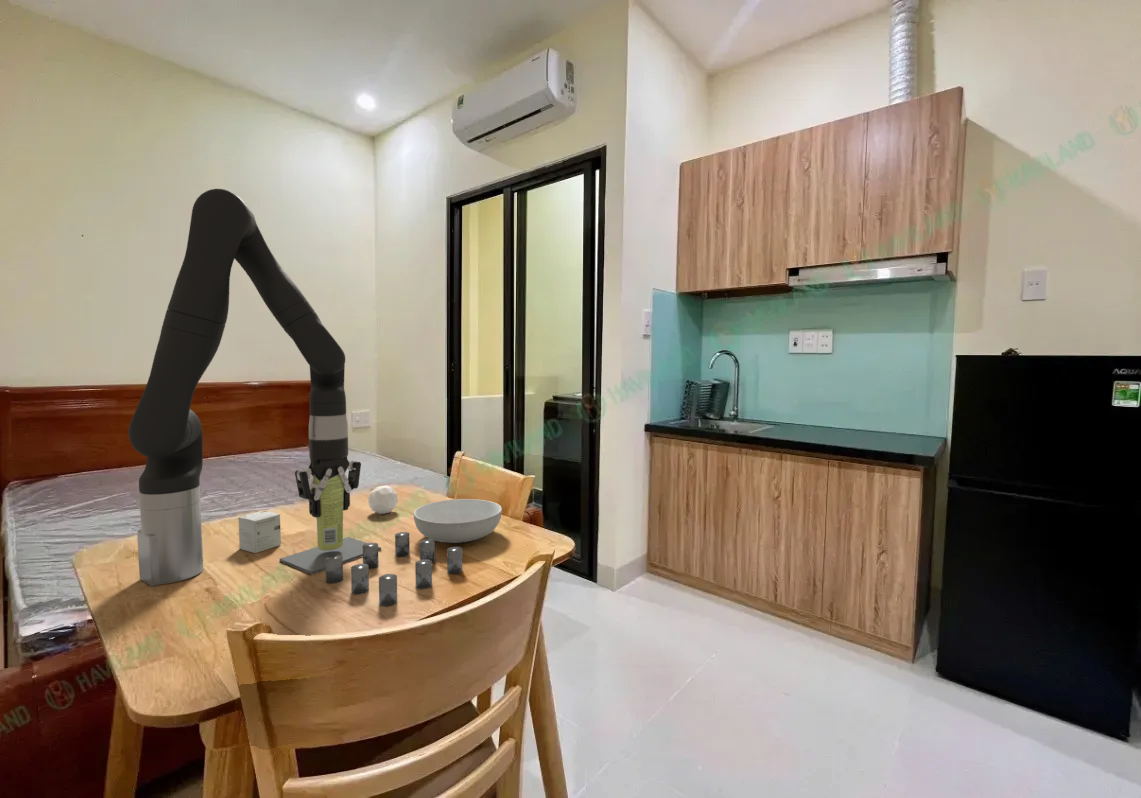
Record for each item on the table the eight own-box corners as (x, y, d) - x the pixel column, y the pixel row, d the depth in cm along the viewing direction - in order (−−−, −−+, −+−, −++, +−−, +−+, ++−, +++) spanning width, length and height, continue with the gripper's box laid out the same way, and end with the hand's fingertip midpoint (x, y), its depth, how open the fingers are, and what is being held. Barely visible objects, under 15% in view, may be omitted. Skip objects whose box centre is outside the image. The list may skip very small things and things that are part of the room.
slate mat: (312, 574, 100) (311, 571, 100) (279, 561, 107) (279, 558, 107) (381, 549, 114) (381, 547, 114) (348, 539, 120) (348, 536, 120)
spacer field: (386, 607, 87) (386, 582, 87) (322, 581, 98) (322, 558, 97) (465, 570, 103) (465, 548, 103) (403, 550, 114) (403, 531, 113)
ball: (377, 521, 142) (371, 495, 146) (405, 510, 143) (398, 485, 147) (367, 515, 135) (360, 488, 139) (396, 504, 137) (389, 477, 140)
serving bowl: (517, 530, 128) (518, 503, 128) (467, 559, 109) (467, 528, 109) (451, 519, 137) (451, 493, 136) (394, 544, 118) (393, 515, 117)
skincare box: (255, 554, 111) (253, 521, 110) (238, 549, 114) (237, 516, 113) (281, 545, 116) (280, 513, 116) (265, 540, 119) (264, 509, 119)
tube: (324, 542, 113) (321, 455, 111) (347, 541, 113) (345, 455, 112) (313, 552, 107) (311, 460, 106) (338, 551, 108) (336, 460, 106)
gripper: (305, 441, 100) (307, 525, 102) (369, 433, 112) (370, 508, 114) (285, 438, 104) (287, 518, 106) (348, 430, 116) (350, 502, 118)
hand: (330, 512), depth 110 cm, fingers closed on tube, 5 cm apart
